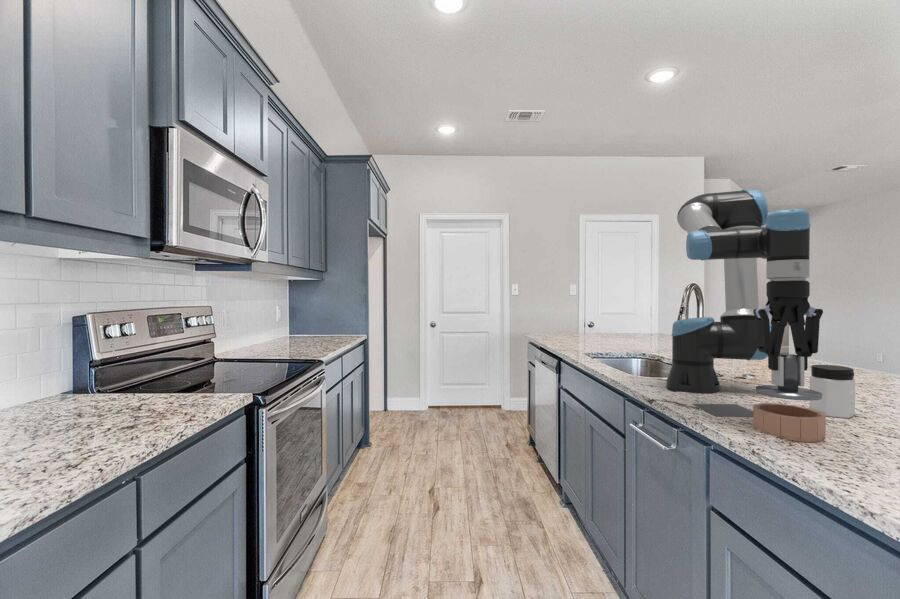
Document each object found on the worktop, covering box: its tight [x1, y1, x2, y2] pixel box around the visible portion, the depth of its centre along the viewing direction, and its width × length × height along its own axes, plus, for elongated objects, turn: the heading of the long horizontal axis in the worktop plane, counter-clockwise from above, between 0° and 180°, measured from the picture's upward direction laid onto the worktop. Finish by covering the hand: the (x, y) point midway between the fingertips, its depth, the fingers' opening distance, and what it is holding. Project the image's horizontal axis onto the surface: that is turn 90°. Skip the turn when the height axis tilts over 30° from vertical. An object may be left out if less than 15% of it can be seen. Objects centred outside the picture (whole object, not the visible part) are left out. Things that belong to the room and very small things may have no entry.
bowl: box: [752, 402, 827, 443], centre depth 94 cm, size 12×12×5 cm
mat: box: [691, 403, 753, 418], centre depth 110 cm, size 12×12×1 cm
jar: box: [809, 364, 856, 419], centre depth 108 cm, size 9×8×12 cm
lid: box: [755, 353, 823, 401], centre depth 94 cm, size 12×12×9 cm
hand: (787, 384), depth 94 cm, fingers closed on lid, 4 cm apart
